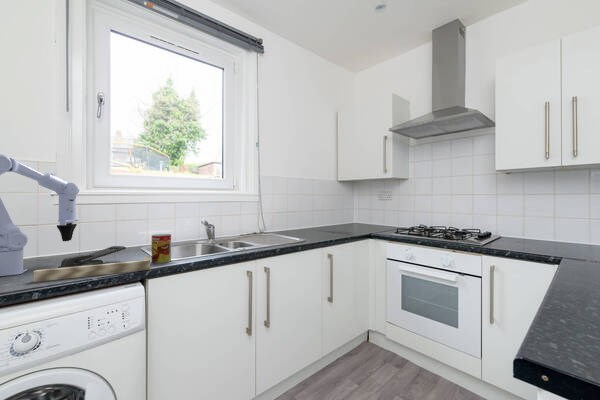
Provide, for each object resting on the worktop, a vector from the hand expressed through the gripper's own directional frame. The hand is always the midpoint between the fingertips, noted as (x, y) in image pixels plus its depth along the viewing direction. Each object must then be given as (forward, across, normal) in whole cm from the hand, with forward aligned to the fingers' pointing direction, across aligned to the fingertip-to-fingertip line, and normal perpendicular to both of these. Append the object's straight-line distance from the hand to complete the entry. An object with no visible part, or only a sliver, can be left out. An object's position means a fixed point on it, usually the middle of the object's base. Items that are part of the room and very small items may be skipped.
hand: (67, 240), depth 120 cm
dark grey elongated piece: (+10, -13, -12) cm, 20 cm away
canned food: (+10, -17, -37) cm, 41 cm away
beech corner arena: (+10, -26, -15) cm, 32 cm away
